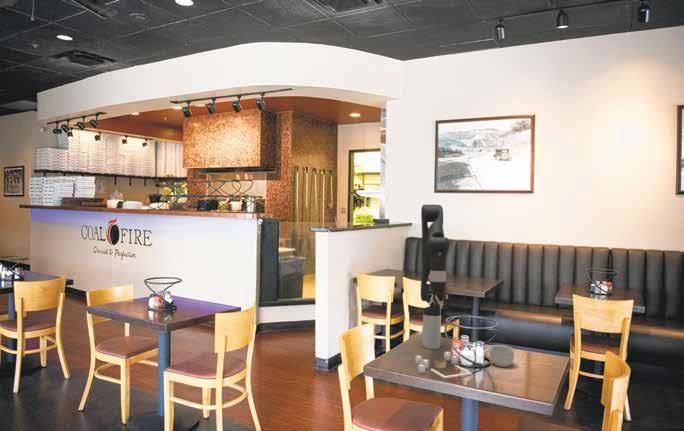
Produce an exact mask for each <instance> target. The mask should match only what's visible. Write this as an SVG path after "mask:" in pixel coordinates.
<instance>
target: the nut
mask: <svg viewBox="0 0 684 431" xmlns="http://www.w3.org/2000/svg"><path fill="white" fill-rule="evenodd" d="M446 367H447V361H444V359H435V360H434V368H436V369H446Z"/></svg>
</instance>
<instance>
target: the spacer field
mask: <svg viewBox="0 0 684 431" xmlns="http://www.w3.org/2000/svg"><path fill="white" fill-rule="evenodd" d="M414 357H415V359H414V360H415V361H414V364H415V365H416V366H418V368H417V372H418V373H417V374H418V375H421V374H422V375H423V374H424V375H426V370H429V369H430V359H429V358H423V355H421V354H416V355H415V356H414ZM443 360H444V361H446V362H450V363H451V365H452V366H455V365H456V364H457V361H458V356H455V355H453V354H452V352H451V351H448V350H446V351H443ZM422 375H421V376H422Z"/></svg>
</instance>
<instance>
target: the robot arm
mask: <svg viewBox="0 0 684 431" xmlns="http://www.w3.org/2000/svg"><path fill="white" fill-rule="evenodd" d="M420 214H421V216H420V217H421V255H420V256H421V257H420V258H421V279H420V300H421V301H422V302H426V303H427V304H428V305H429V306H427V307H424V308H423V309H422V328H421V333H422V334H421V337H422V338H421V345H422V347H423V348H425V349H430V350H432V349H433V350H436V349H437V350H438V349H440V348H441V332H442V331H441V329H442V328H441V327H442V326H441V325H442V324H441V322H442V321H441V318H444V317H445V318H446V315H447V309H449V308H450V294H445V292H446V291H447V271H446V268H447V267H446V266H447V265H446V264H447V257H448V253H449V251H450V246H451V242H450V239H449V238H448V237H447V236H445V232H444V210H443V206H442V205H441V204H423V205H422V206H421V212H420ZM428 223H431V224H430V225H428ZM440 253H441V254H440ZM428 280H429V283H428Z"/></svg>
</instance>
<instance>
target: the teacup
mask: <svg viewBox="0 0 684 431" xmlns="http://www.w3.org/2000/svg"><path fill="white" fill-rule="evenodd" d="M489 348H490V349H489ZM489 348H487V349H484V352H483V354H484V357H485V358H486V359H488V360H489V362H492V363H493V364H494V365H495V366H496V367H501V368H508V367H510V366H511V365H512V364H513V363H514V357H515V354H514V353H515V350H514V349H515V348H512V347H510V346H507V345H502V344H494V345H491V346H490V347H489ZM488 352H489V353H490V356H488V354H487V353H488Z"/></svg>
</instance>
